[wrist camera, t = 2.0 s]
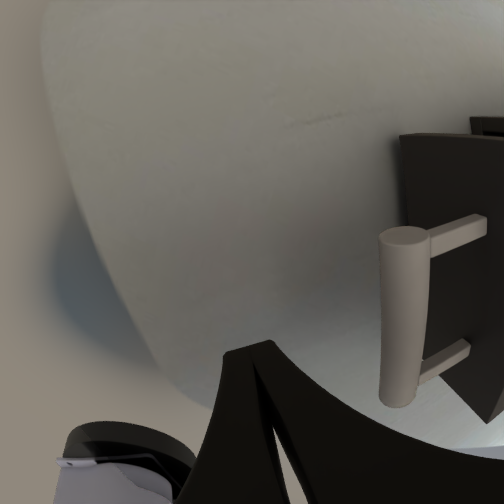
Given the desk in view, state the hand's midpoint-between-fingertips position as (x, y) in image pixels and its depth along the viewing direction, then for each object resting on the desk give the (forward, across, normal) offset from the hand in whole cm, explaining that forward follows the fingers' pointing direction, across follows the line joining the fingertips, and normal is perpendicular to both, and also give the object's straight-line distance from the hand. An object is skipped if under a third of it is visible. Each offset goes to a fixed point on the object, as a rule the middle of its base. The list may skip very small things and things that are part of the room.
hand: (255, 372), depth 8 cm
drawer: (+4, -12, 0) cm, 13 cm away
